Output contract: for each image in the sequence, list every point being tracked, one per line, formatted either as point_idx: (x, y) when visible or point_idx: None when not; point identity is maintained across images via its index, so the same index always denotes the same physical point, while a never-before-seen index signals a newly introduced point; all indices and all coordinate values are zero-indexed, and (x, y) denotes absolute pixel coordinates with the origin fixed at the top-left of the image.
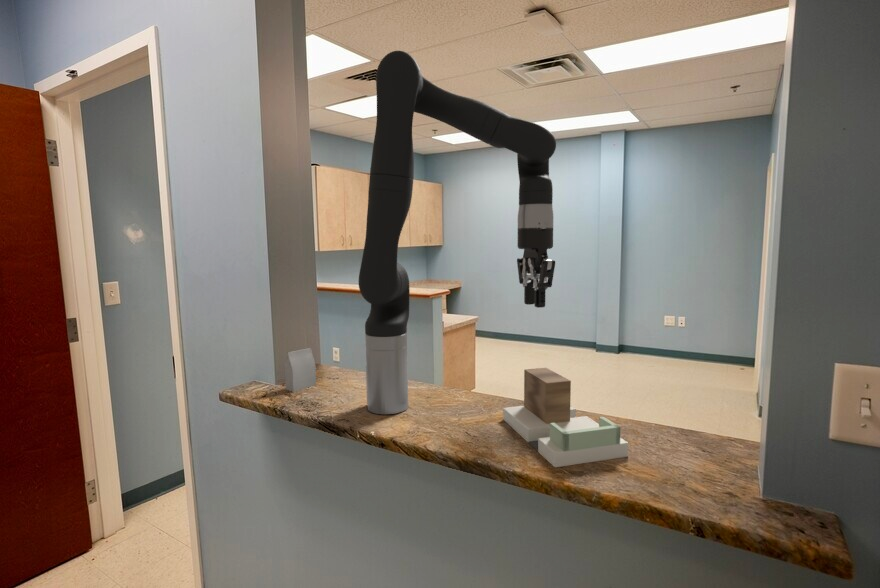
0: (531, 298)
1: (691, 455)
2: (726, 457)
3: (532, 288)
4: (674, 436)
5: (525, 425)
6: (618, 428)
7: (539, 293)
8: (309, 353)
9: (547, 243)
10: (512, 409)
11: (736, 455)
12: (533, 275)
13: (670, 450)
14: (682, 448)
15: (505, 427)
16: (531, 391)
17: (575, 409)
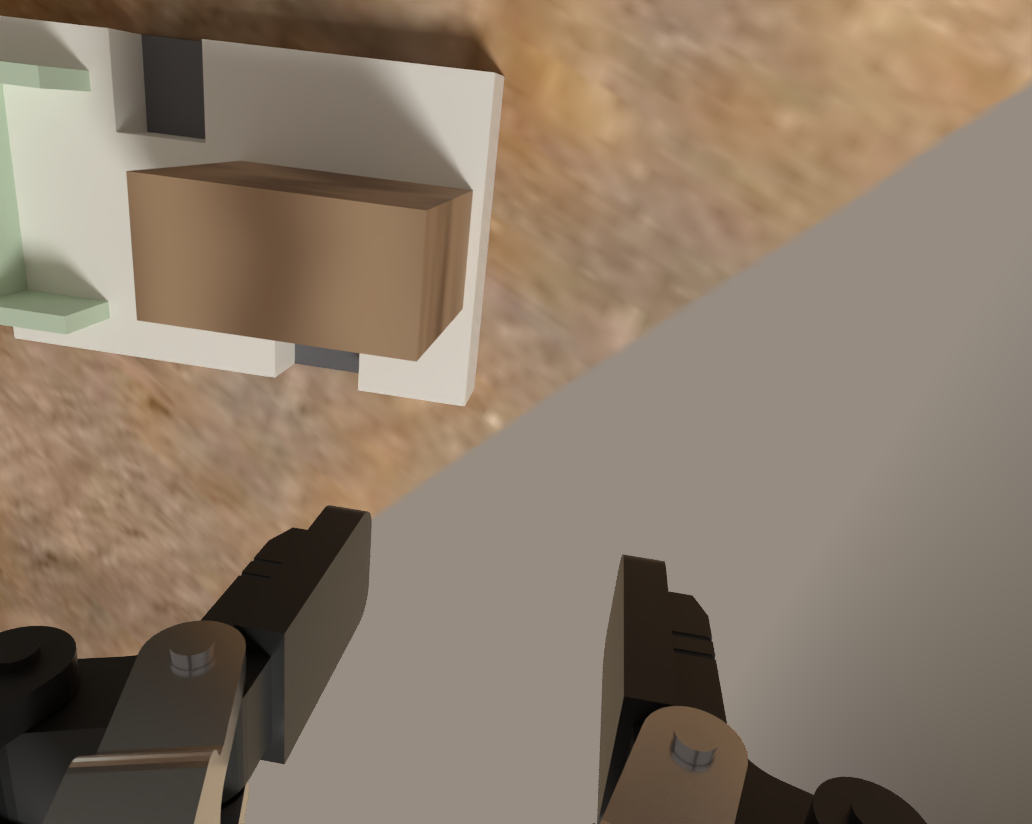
0: (611, 664)
1: (29, 502)
2: (3, 572)
3: (605, 787)
4: (157, 570)
5: (250, 54)
6: None
7: (206, 615)
8: None
9: None
10: (456, 108)
11: (10, 605)
12: (60, 786)
13: (69, 478)
14: (75, 519)
15: (413, 34)
16: (358, 188)
17: (358, 388)
